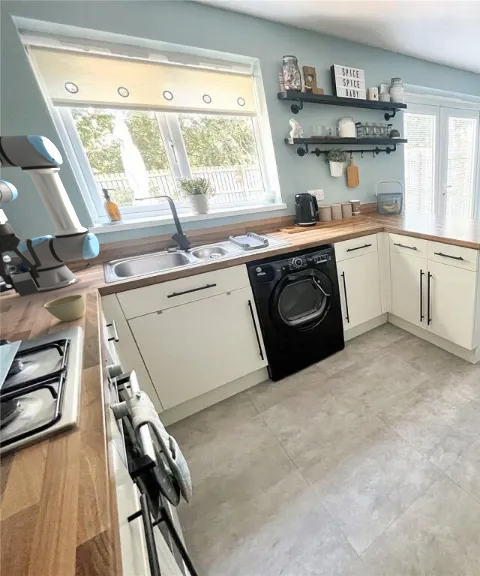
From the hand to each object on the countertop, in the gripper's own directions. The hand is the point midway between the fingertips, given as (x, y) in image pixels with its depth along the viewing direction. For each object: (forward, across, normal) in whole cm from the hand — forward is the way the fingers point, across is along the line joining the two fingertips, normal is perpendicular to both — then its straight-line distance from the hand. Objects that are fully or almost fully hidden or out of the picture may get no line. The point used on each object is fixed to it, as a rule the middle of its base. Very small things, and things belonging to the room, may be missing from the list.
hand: (28, 289), depth 110 cm
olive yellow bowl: (+11, +7, -13) cm, 18 cm away
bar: (0, 0, 0) cm, 0 cm away
